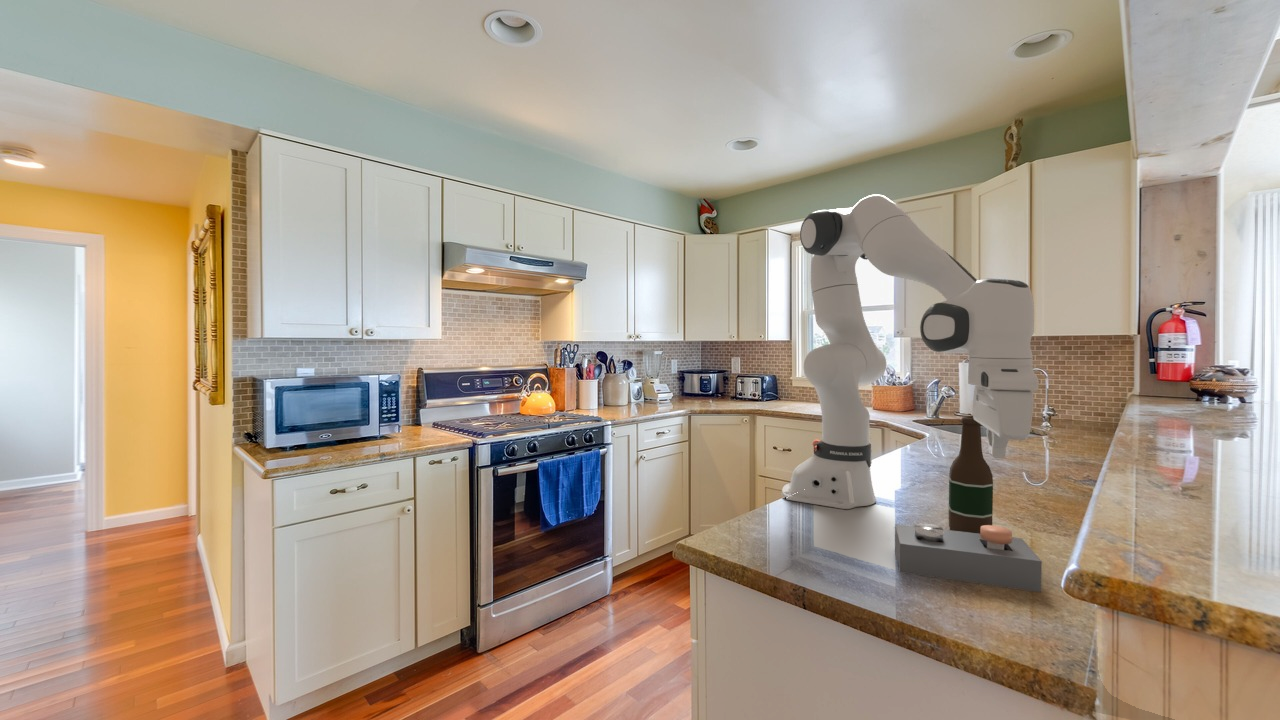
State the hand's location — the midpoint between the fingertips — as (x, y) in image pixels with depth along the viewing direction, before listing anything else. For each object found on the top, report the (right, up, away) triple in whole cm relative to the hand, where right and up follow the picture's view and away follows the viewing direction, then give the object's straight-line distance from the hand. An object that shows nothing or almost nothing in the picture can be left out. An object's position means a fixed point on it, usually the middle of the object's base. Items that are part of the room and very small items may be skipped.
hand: (996, 456), depth 87 cm
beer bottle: (+8, -20, +19) cm, 29 cm away
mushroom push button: (0, -19, +1) cm, 19 cm away
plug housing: (-4, -20, +3) cm, 21 cm away
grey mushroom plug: (-9, -20, +4) cm, 22 cm away
